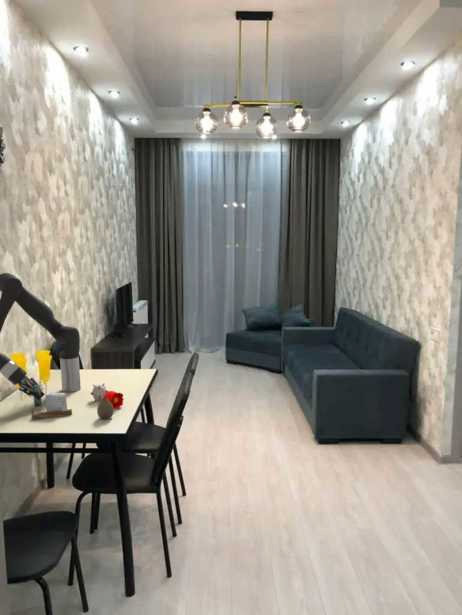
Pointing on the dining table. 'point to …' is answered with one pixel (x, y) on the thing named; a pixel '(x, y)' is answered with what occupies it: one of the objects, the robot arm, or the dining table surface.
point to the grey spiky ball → (99, 392)
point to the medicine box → (56, 402)
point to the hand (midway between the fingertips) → (41, 397)
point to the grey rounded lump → (105, 409)
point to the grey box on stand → (46, 414)
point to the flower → (114, 398)
